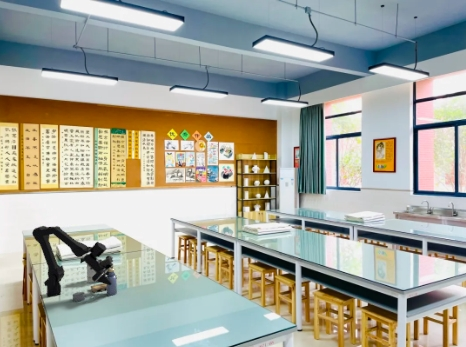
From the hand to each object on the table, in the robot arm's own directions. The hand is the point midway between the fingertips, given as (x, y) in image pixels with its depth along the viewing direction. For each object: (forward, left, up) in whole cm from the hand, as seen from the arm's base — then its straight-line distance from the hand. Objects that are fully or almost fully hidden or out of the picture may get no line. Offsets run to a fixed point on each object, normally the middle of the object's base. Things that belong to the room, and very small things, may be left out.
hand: (113, 281), depth 197 cm
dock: (-4, +12, -7) cm, 14 cm away
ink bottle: (-1, +1, -7) cm, 7 cm away
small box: (-3, +30, -7) cm, 31 cm away
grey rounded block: (-18, +3, -7) cm, 19 cm away
